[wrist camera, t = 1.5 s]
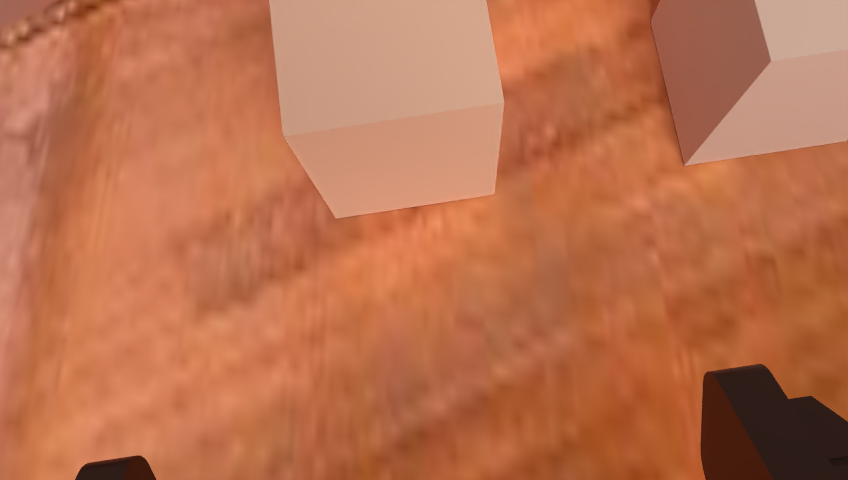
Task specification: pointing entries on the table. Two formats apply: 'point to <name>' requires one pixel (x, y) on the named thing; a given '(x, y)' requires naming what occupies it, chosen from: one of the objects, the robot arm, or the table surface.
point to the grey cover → (753, 74)
